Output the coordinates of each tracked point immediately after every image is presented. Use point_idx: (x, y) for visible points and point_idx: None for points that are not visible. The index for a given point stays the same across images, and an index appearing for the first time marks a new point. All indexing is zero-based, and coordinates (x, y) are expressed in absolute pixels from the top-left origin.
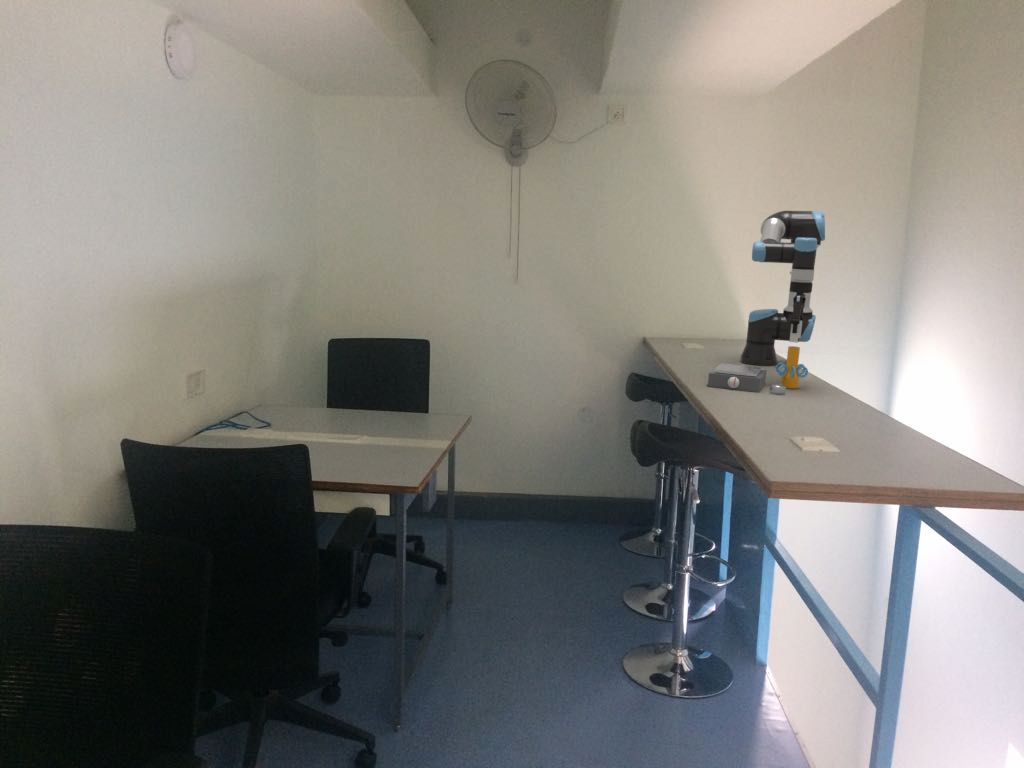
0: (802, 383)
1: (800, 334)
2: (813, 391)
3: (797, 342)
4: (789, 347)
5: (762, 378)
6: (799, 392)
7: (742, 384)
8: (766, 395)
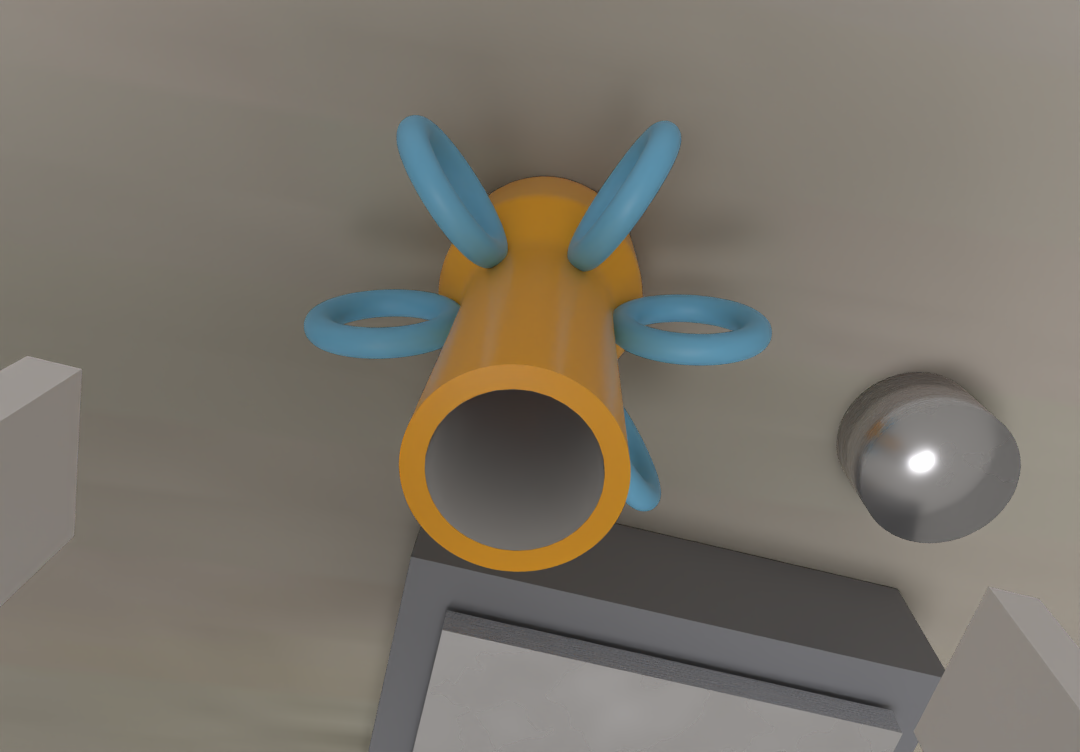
0: (246, 70)
1: (14, 418)
2: (701, 22)
3: (1038, 600)
4: (568, 559)
5: (735, 609)
6: (802, 203)
7: None
8: (1021, 545)
